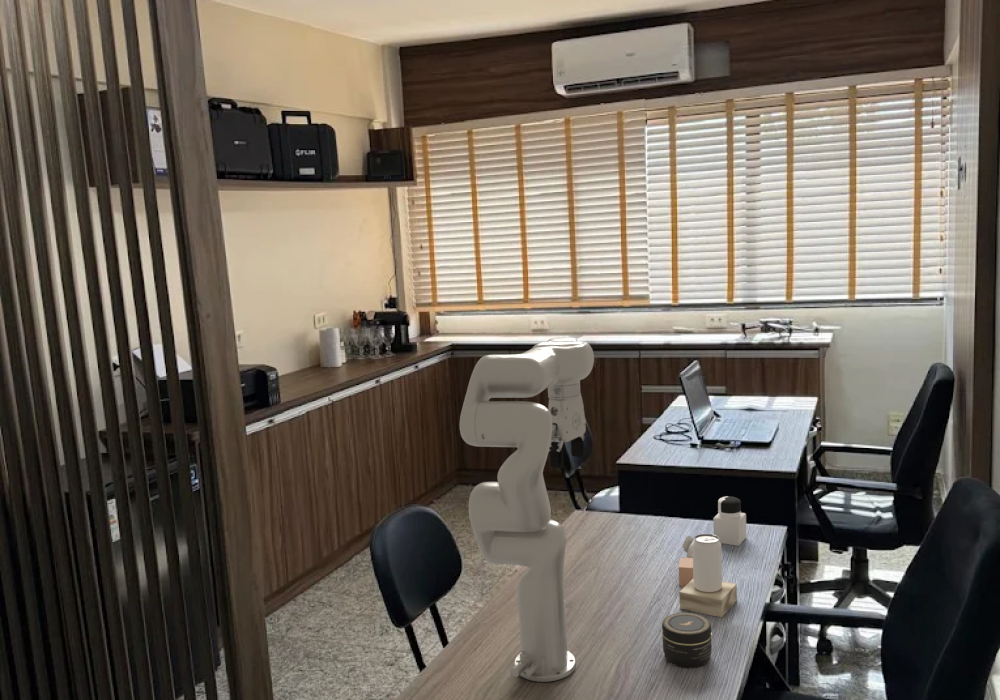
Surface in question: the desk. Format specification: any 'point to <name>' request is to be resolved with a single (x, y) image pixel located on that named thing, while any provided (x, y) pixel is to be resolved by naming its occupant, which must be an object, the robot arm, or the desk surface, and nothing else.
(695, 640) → the jar
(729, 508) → the medicine bottle
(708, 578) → the can
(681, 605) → the birch block
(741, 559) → the desk surface
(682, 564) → the terracotta block
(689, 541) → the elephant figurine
